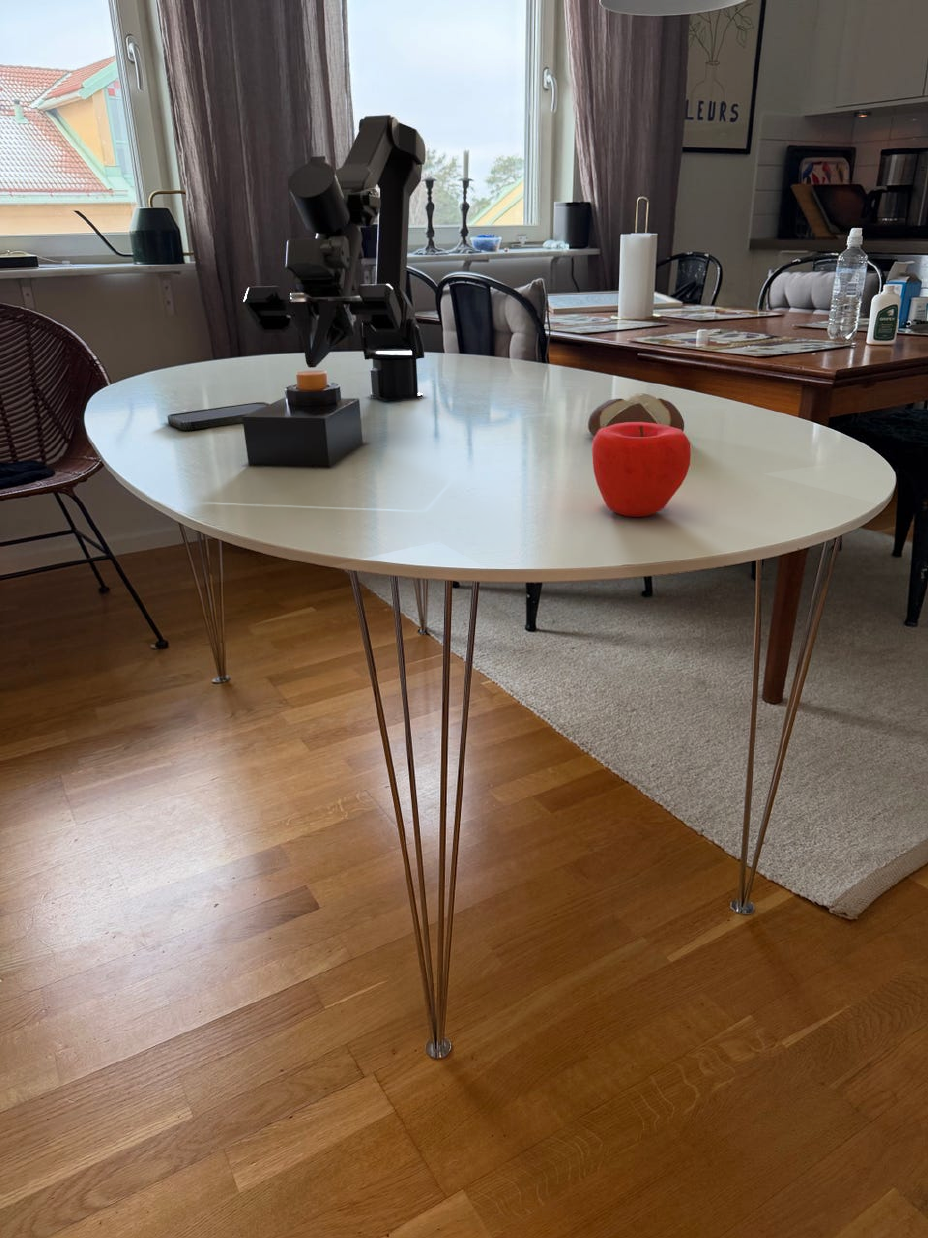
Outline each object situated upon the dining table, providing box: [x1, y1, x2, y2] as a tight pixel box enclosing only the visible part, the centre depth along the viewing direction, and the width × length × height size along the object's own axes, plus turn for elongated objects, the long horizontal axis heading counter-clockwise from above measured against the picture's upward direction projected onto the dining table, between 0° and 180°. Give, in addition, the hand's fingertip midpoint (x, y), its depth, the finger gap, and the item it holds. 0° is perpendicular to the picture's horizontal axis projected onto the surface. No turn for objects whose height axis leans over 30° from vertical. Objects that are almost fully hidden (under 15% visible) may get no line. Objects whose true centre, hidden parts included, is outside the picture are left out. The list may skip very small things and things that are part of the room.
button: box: [295, 370, 328, 390], centre depth 104 cm, size 4×4×2 cm
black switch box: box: [242, 381, 364, 469], centre depth 103 cm, size 13×10×8 cm
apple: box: [591, 422, 692, 518], centre depth 78 cm, size 9×9×8 cm
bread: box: [587, 393, 685, 437], centre depth 106 cm, size 11×11×5 cm
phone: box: [166, 401, 270, 431], centre depth 124 cm, size 8×1×15 cm
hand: (310, 365), depth 103 cm, fingers closed
